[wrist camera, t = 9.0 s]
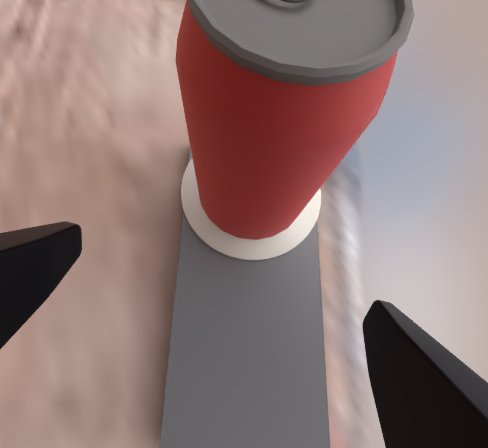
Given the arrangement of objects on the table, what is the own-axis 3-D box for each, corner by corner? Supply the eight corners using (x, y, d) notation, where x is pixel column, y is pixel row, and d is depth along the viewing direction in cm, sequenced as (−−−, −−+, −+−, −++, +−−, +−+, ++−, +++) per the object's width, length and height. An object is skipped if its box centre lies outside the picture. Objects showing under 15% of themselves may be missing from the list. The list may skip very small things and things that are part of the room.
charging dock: (326, 440, 15) (337, 453, 14) (158, 440, 15) (152, 453, 13) (310, 147, 21) (317, 135, 20) (189, 139, 21) (187, 126, 19)
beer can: (235, 131, 19) (257, -132, 8) (319, 180, 19) (471, -31, 7) (177, 205, 17) (96, -6, 6) (268, 263, 17) (372, 149, 5)
